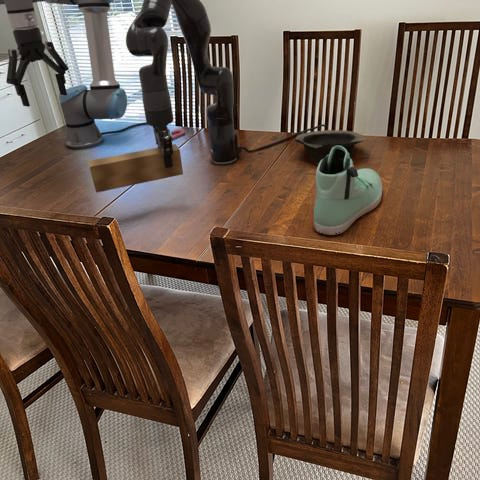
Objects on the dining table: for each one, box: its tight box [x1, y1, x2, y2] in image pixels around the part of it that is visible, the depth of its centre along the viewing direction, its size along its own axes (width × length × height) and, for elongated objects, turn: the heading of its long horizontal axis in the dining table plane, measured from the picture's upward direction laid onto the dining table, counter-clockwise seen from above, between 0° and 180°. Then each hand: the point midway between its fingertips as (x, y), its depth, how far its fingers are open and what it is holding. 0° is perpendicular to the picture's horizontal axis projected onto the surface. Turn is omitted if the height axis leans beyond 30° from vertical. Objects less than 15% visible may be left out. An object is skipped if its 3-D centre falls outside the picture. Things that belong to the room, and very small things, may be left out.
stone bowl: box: [294, 129, 367, 165], centre depth 171 cm, size 25×25×9 cm
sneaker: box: [313, 146, 383, 236], centre depth 133 cm, size 14×35×20 cm, turn 152°
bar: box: [87, 143, 184, 193], centre depth 137 cm, size 25×5×8 cm, turn 111°
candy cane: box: [170, 128, 186, 141], centre depth 202 cm, size 6×15×2 cm, turn 145°
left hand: (45, 100), depth 152 cm, fingers open, 13 cm apart
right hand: (166, 163), depth 140 cm, fingers closed on bar, 5 cm apart
